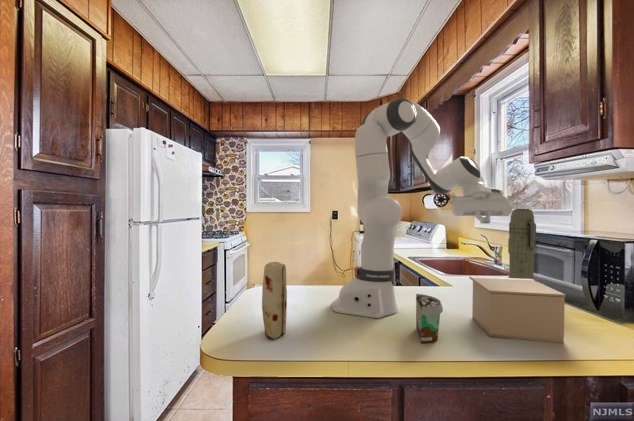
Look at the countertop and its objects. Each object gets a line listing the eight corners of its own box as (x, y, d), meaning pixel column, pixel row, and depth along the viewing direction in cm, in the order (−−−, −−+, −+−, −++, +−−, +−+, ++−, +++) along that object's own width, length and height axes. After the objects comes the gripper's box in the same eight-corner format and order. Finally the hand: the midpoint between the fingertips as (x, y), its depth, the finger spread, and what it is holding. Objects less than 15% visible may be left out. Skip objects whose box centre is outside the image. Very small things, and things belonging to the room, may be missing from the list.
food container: (447, 348, 75) (447, 309, 75) (421, 346, 76) (422, 307, 76) (437, 328, 87) (438, 294, 87) (415, 326, 88) (416, 293, 88)
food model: (264, 327, 87) (265, 259, 87) (287, 327, 87) (288, 259, 87) (259, 343, 77) (259, 265, 77) (285, 342, 78) (285, 265, 77)
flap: (489, 292, 82) (489, 290, 82) (469, 278, 98) (469, 276, 98) (565, 296, 78) (565, 294, 78) (531, 280, 95) (531, 278, 95)
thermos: (517, 292, 124) (518, 208, 124) (543, 301, 113) (545, 208, 112) (498, 293, 123) (500, 208, 122) (524, 303, 111) (525, 208, 110)
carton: (489, 337, 82) (490, 293, 82) (472, 318, 96) (472, 280, 95) (563, 342, 79) (564, 297, 79) (534, 322, 92) (535, 283, 92)
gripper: (450, 190, 118) (457, 216, 109) (507, 190, 115) (519, 216, 105) (447, 202, 123) (453, 227, 113) (501, 202, 119) (513, 228, 110)
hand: (485, 222), depth 109 cm, fingers closed
